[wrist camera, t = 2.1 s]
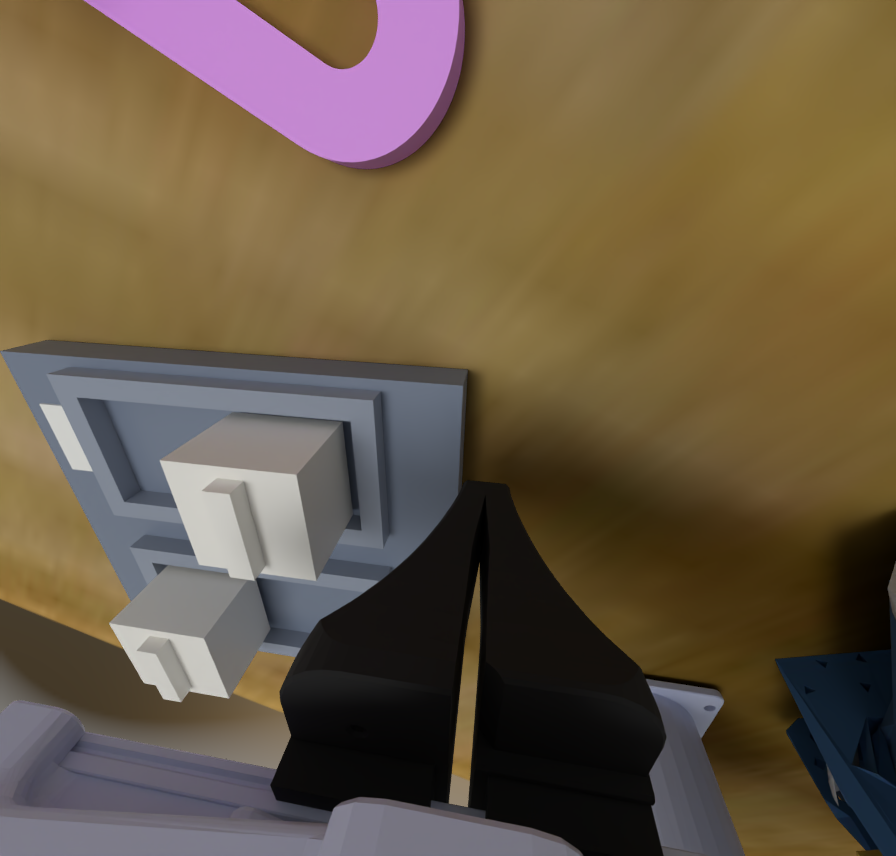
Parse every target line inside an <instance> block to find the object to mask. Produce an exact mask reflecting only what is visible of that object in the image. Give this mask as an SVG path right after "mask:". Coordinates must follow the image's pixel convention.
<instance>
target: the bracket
mask: <svg viewBox="0 0 896 856" xmlns="http://www.w3.org/2000/svg"><path fill="white" fill-rule="evenodd" d="M84 1H86V2H87V3H89V4H90V5H91V6H93V7H94V8H96V9H97V10H99V11H100V12H102V13H103V14H105V15H106V16H108V17H109V18H111V19H112V20H114V21H115V22H117V23H118V24H120V25H121V26H123V27H124V28H126V29H127V30H129V31H130V32H131V33H133V34H134V35H136V36H137V37H139V38H140V39H142V40H143V41H145V42H146V43H148V44H149V45H151V46H152V47H154V48H155V49H157V50H158V51H160V52H161V53H163V54H164V55H166V56H167V57H169V58H170V59H171V60H173V61H174V62H176V63H177V64H179V65H180V66H182V67H183V68H185V69H186V70H188V71H189V72H191V73H192V74H194V75H195V76H197V77H198V78H200V79H201V80H203V81H204V82H206V83H207V84H209V85H210V86H211V87H213V88H214V89H216V90H217V91H219V92H220V93H222V94H223V95H225V96H226V97H228V98H229V99H231V100H232V101H234V102H235V103H237V104H238V105H240V106H241V107H243V108H244V109H246V110H247V111H249V112H250V113H251V114H253V115H254V116H256V117H257V118H259V119H260V120H262V121H263V122H265V123H266V124H268V125H269V126H271V127H272V128H274V129H275V130H277V131H278V132H280V133H281V134H283V135H284V136H286V137H287V138H289V139H290V140H291V141H293V142H294V143H296V144H297V145H299V146H301V147H302V148H304V149H306V150H307V151H309V152H311V153H313V154H316V155H318V156H320V157H322V158H325V159H327V160H330V161H332V162H335V163H337V164H340V165H344V166H347V167H351V168H357V169H376V168H382V167H386V166H389V165H392V164H395V163H397V162H399V161H401V160H403V159H405V158H407V157H408V156H410V155H411V154H413V153H414V152H415V151H417V150H418V149H419V148H420V147H421V146H422V145H423V144H424V143H425V142H426V141H427V140H428V139H429V138H430V137H431V136H432V134H433V133H434V132H435V130H436V129H437V127H438V126H439V125H440V123H441V121H442V119H443V118H444V116H445V114H446V112H447V110H448V108H449V106H450V104H451V101H452V99H453V96H454V93H455V90H456V88H457V84H458V80H459V76H460V73H461V67H462V61H463V54H464V43H465V18H464V6H463V0H376V2H377V8H378V28H377V34H376V38H375V41H374V44H373V46H372V48H371V50H370V52H369V54H368V55H367V56H366V58H365V59H364V60H363V61H362V62H361V63H359V64H358V65H356V66H354V67H352V68H349V69H336V68H332V67H330V66H328V65H326V64H325V63H323V62H322V61H321V60H319V59H318V58H316V57H315V56H314V55H312V54H311V53H309V52H308V51H307V50H305V49H304V48H302V47H301V46H299V45H298V44H297V43H295V42H294V41H292V40H291V39H290V38H288V37H287V36H285V35H284V34H283V33H281V32H280V31H278V30H277V29H276V28H274V27H273V26H271V25H270V24H269V23H267V22H266V21H264V20H263V19H262V18H260V17H259V16H257V15H256V14H255V13H253V12H252V11H250V10H249V9H248V8H246V7H245V6H243V5H242V4H241V3H239V2H238V1H236V0H84Z"/></svg>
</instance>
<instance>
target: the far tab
mask: <svg viewBox="0 0 896 856" xmlns="http://www.w3.org/2000/svg"><path fill="white" fill-rule="evenodd" d="M109 624H110V626H111V628H112V629H113V631H114V633H115V634H116V636H117V638H118V640H119V641H120V643H121V645H122V646H123V648H124V650H125V651H126V653H127V655H128V657H129V658H130V660H131V662H132V663H133V665H134V667H135V669H136V670H137V672H138V673H139V675H140V677H141V679H142V681H143V682H144V683H146V684H152V685H156V686H157V688H158V690H159V692H160V694H161V695H162V697H163V699H167V700H172V701H178V702H182V700H183V699H184V697H185V696H186V695H187V693H188V692H189V691H191V692H197V693H202V694H208V695H213V696H219V697H224V698H230V696H231V694H232V693H233V691H234V689H235V688H236V686H237V684H238V683H239V681H240V679H241V678H242V676H243V674H244V673H245V671H246V669H247V668H248V666H249V664H250V663H251V661H252V659H253V658H254V656H255V654H256V653H257V651H258V649H259V648H260V646H261V644H262V643H263V641H264V639H265V638H266V636H267V634H268V633H269V631H270V626H269V622H268V619H267V615H266V612H265V609H264V605H263V602H262V598H261V595H260V591H259V588H258V585H257V581H256V580H255V581H252V580H245V579H238V578H231V577H230V576H229V573H222V572H215V571H208V570H200V569H193V568H186V567H179V566H172V565H168V566H167V567H166V568H165V569H164V570H163V571H162V572H161V573H160V574H159V575H157V576H156V577H155V578H154V579H153V580H152V581H151V582H150V583H149V584H148V585H147V586H146V587H145V588H144V589H143V590H142V591H141V592H140V593H139V594H138V595H137V596H136V597H135V598H134V599H133V600H132V601H131V602H130V603H129V604H128V605H127V606H126V607H125V608H124V609H123V610H122V611H121V612H120V613H119V614H118V615H117V616H116V617H115V618H114V619H113V620H112V621H111V622H110V623H109Z"/></svg>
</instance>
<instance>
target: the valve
mask: <svg viewBox="0 0 896 856" xmlns="http://www.w3.org/2000/svg"><path fill="white" fill-rule="evenodd" d="M888 593H889V601H890V631H891V650H878V651H866V652H854V653H842V654H830V655H818V656H806V657H793V658H781V659H775V661H776V663H777V665H778V668H779V670H780V672H781V674H782V676H783V678H784V680H785V682H786V684H787V686H788V688H789V690H790V692H791V694H792V696H793V698H794V700H795V702H796V704H797V706H798V708H799V710H800V712H801V714H802V716H803V718H798V719H797V720H796V721H795V722H794V723H793V724H792V725H791V726H790V727H789V728H788V729H787V730H786V733H787V735H788V737H789V739H790V740H791V742H792V744H793V746H794V747H795V749H796V751H797V753H798V754H799V756H800V758H801V760H802V761H803V763H804V765H805V767H806V768H807V770H808V772H809V774H810V775H811V777H812V779H813V781H814V782H815V784H816V786H817V788H818V789H819V791H820V793H821V795H822V796H823V798H824V800H825V801H826V803H827V804H828V806H829V808H830V809H831V811H832V812H833V814H834V815H835V817H836V818H837V819H838V820H839V822H840V823H841V824H842V825H843V826H844V827H845V828H846V829H847V830H848V831H849V832H850V834H851V835H852V836H853V837H854V838H855V839H856V840H857V841H858V842H859V843H860V844H861V846H862V847H863V848H864V849H865V850H866V851H857V856H896V563H895V566H894V569H893V573H892V576H891V579H890V580H889V585H888ZM838 796H839V797H840V798H841V800H840V799H839V798H838Z"/></svg>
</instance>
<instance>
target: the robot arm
mask: <svg viewBox="0 0 896 856" xmlns="http://www.w3.org/2000/svg"><path fill="white" fill-rule="evenodd" d="M479 562H480V619H481V633H480V653H479V667H478V681H477V694H476V708H475V721H474V734H473V748H472V761H471V774H470V787H469V801H468V807H463V806H458V805H453V804H449V794H450V784H451V774H452V764H453V754H454V744H455V734H456V724H457V714H458V704H459V694H460V684H461V674H462V664H463V655H464V645H465V637H466V630H467V624H468V619H469V614H470V608H471V603H472V598H473V593H474V588H475V583H476V577H477V572H478V567H479ZM280 701H281V705H282V708H283V711H284V714H285V717H286V720H287V724H288V727H289V730H290V733H291V738H290V740H289V742H288V745H287V748H286V750H285V752H284V754H283V756H282V759H281V761H280V763H279V766H278V768H277V769H271V768H267V767H262V766H256V765H252V764H246V763H241V762H236V761H231V760H226V759H221V758H216V757H211V756H206V755H201V754H196V753H191V752H186V751H181V750H176V749H171V748H166V747H161V746H156V745H151V744H145V743H141V742H136V741H131V740H125V739H120V738H115V737H110V736H105V735H100V734H95V733H90V732H85V728H84V726H83V725H82V723H81V721H80V720H79V719H78V718H77V717H76V716H75V715H74V714H73V713H71V712H69V711H67V710H65V709H62V708H58V707H54V706H49V705H43V704H38V703H33V702H27V701H23V700H17V701H13V702H12V703H11V704H10V705H8V706H7V707H6V708H5V709H4V710H3V711H2V712H1V713H0V856H745V854H744V851H743V848H742V846H741V843H740V841H739V838H738V835H737V833H736V830H735V827H734V825H733V822H732V819H731V817H730V814H729V811H728V809H727V806H726V804H725V801H724V798H723V796H722V793H721V790H720V788H719V785H718V782H717V780H716V777H715V775H714V772H713V769H712V767H711V764H710V761H709V759H708V756H707V753H706V751H705V748H704V745H703V743H702V740H701V738H702V736H703V735H704V733H705V732H706V730H707V729H708V727H709V725H710V724H711V722H712V721H713V719H714V718H715V716H716V715H717V713H718V711H719V710H720V708H721V707H722V705H723V704H724V699H723V697H722V695H721V693H720V692H719V691H717V690H714V689H709V688H703V687H696V686H690V685H683V684H677V683H670V682H664V681H657V680H650V679H645V676H644V674H643V672H642V670H641V668H640V667H639V666H638V665H637V664H636V663H635V662H634V661H633V660H632V659H631V658H629V657H628V656H627V655H626V654H625V653H624V652H623V651H622V650H621V649H619V648H618V647H617V646H616V645H615V644H614V643H613V642H612V641H611V640H610V639H608V638H607V637H606V636H605V635H604V634H603V633H602V632H601V631H600V630H599V629H598V628H597V627H596V626H595V625H594V624H593V623H592V621H591V620H590V619H589V618H588V617H587V616H586V615H585V614H584V612H583V611H582V610H581V609H580V608H579V607H578V606H577V604H576V603H575V602H574V601H573V600H572V599H571V597H570V596H569V595H568V594H567V593H566V592H565V590H564V589H563V588H562V586H561V585H560V584H559V582H558V581H557V580H556V578H555V577H554V576H553V574H552V573H551V571H550V570H549V568H548V567H547V566H546V564H545V563H544V561H543V560H542V558H541V556H540V555H539V553H538V551H537V550H536V548H535V546H534V545H533V543H532V541H531V539H530V537H529V536H528V534H527V532H526V530H525V528H524V526H523V524H522V522H521V520H520V517H519V515H518V513H517V510H516V508H515V505H514V503H513V500H512V497H511V494H510V490H509V487H508V486H507V485H506V484H500V483H490V482H480V481H470V480H467V481H466V482H464V483H463V486H462V488H461V490H460V492H459V494H458V496H457V497H456V499H455V501H454V502H453V504H452V505H451V507H450V508H449V510H448V511H447V512H446V514H445V515H444V517H443V518H442V520H441V521H440V522H439V523H438V525H437V526H436V527H435V528H434V529H433V531H432V532H431V533H430V534H429V535H428V537H427V538H426V539H425V540H424V541H423V542H422V543H421V544H420V545H419V546H418V548H417V549H416V550H415V551H414V552H413V553H411V554H410V555H409V556H408V557H407V558H406V559H405V560H404V561H403V562H402V563H401V564H400V565H398V566H397V567H396V568H395V569H394V570H393V571H392V572H390V573H389V574H388V575H387V576H385V577H384V578H383V579H382V580H380V581H379V582H378V583H376V584H375V585H373V586H372V587H371V588H369V589H368V590H367V591H365V592H364V593H362V594H361V595H360V596H358V597H357V598H355V599H354V600H352V601H351V602H349V603H347V604H346V605H344V606H342V607H341V608H339V609H337V610H336V611H334V612H332V613H331V614H329V615H327V616H326V617H324V618H322V619H320V620H319V621H318V623H317V624H316V626H315V627H314V629H313V630H312V632H311V633H310V635H309V636H308V638H307V639H306V641H305V642H304V644H303V645H302V647H301V649H300V650H299V652H298V654H297V656H296V658H295V660H294V662H293V664H292V666H291V668H290V670H289V672H288V674H287V676H286V678H285V680H284V683H283V685H282V687H281V690H280Z"/></svg>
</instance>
